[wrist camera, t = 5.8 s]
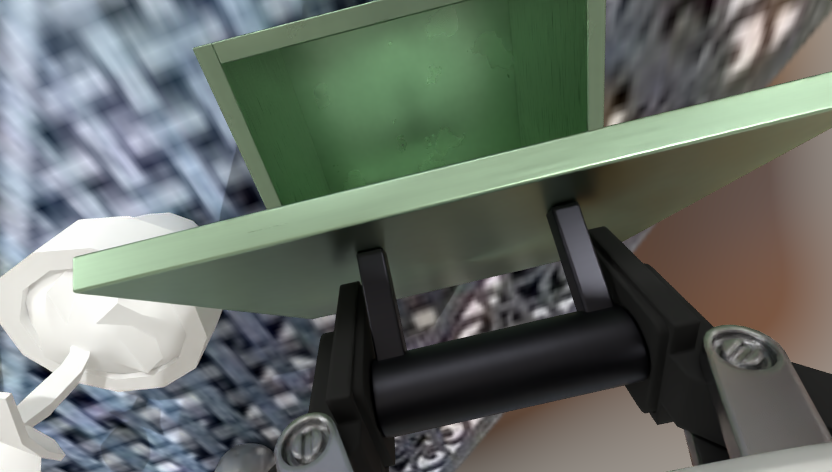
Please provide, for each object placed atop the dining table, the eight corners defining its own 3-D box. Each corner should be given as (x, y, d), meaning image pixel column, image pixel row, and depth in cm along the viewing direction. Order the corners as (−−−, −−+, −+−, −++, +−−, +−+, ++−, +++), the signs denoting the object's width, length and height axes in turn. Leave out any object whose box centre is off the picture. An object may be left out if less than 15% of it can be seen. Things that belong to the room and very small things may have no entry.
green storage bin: (263, 32, 26) (191, 48, 16) (513, -33, 25) (607, -60, 15) (331, 213, 33) (311, 306, 23) (529, 165, 32) (602, 238, 22)
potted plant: (205, 322, 37) (-31, 763, 15) (70, 254, 32) (-539, 749, 11) (283, 229, 33) (114, 648, 11) (142, 138, 28) (-588, 547, 7)
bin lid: (70, 256, 8) (70, 540, 7) (873, 59, 8) (1035, 325, 7) (309, 305, 22) (324, 403, 21) (603, 235, 22) (638, 331, 20)
